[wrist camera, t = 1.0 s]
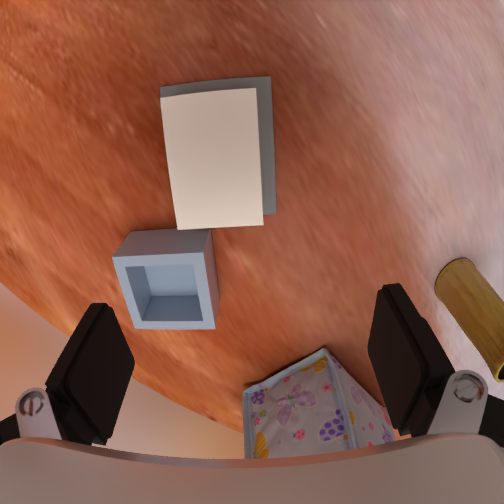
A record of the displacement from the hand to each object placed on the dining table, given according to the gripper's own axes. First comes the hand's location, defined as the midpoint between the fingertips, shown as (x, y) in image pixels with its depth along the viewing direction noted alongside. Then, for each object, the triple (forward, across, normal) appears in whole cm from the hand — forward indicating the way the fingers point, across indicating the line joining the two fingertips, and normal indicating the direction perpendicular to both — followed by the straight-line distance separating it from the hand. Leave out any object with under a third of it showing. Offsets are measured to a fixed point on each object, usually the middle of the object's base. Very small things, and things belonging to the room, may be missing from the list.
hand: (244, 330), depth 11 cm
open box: (+19, +8, +8) cm, 22 cm away
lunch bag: (+19, -9, +32) cm, 39 cm away
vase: (+19, -23, +13) cm, 33 cm away
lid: (+18, +2, -3) cm, 19 cm away
